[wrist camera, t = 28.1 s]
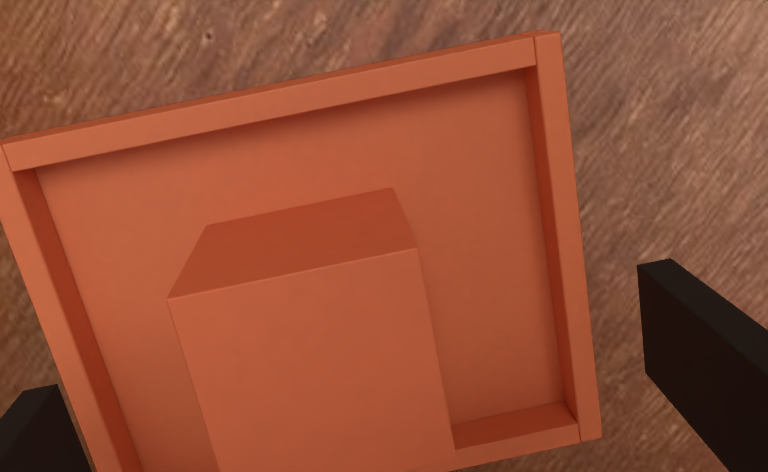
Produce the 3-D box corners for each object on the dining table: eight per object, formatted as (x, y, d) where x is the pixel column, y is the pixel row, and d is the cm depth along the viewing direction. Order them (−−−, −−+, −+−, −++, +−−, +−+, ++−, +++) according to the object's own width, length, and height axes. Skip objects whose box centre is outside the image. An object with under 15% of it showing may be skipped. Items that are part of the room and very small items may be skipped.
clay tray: (538, 29, 21) (561, 30, 19) (581, 405, 26) (603, 438, 24) (5, 137, 21) (-29, 150, 19) (139, 501, 25) (123, 543, 23)
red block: (392, 186, 22) (418, 247, 16) (424, 353, 24) (457, 460, 18) (205, 224, 22) (165, 299, 16) (252, 389, 24) (230, 509, 18)
